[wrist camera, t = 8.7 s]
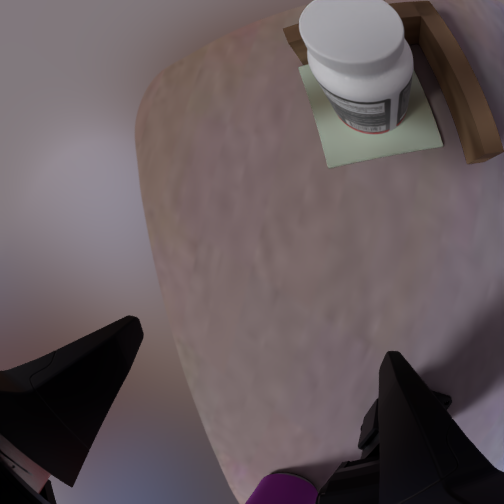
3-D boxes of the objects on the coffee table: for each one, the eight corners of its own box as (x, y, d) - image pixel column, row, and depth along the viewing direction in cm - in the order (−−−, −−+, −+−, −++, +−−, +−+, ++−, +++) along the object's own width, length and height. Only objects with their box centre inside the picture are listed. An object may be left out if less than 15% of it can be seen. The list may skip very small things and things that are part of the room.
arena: (483, 161, 14) (504, 151, 10) (333, 188, 19) (322, 182, 16) (426, 28, 13) (428, 0, 9) (294, 55, 19) (276, 31, 15)
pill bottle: (371, 58, 16) (350, -29, 7) (422, 110, 15) (443, 34, 6) (317, 96, 18) (264, 24, 9) (365, 152, 17) (348, 97, 9)
